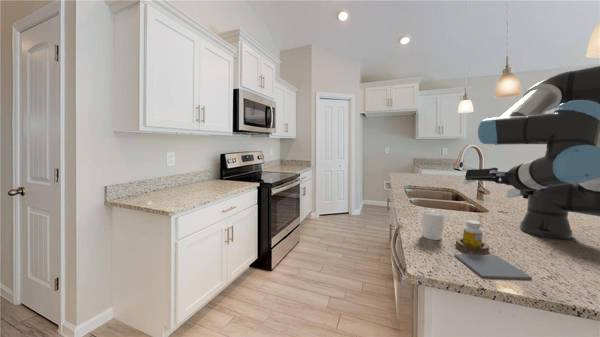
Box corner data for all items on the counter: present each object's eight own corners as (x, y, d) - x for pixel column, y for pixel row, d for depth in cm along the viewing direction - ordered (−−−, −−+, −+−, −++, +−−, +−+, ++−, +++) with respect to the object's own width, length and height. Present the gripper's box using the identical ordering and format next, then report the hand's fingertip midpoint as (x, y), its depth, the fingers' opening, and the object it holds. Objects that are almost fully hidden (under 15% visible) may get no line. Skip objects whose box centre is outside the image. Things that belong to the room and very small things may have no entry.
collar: (476, 243, 89) (476, 237, 88) (495, 254, 79) (495, 248, 79) (450, 242, 89) (450, 237, 89) (466, 253, 80) (466, 248, 80)
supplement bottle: (458, 245, 87) (460, 219, 86) (472, 244, 87) (474, 219, 86) (470, 251, 81) (472, 224, 80) (485, 251, 82) (487, 224, 81)
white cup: (446, 241, 90) (448, 216, 89) (424, 240, 92) (425, 214, 91) (438, 234, 98) (440, 210, 97) (418, 232, 99) (419, 209, 98)
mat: (495, 257, 78) (495, 255, 77) (531, 279, 65) (531, 277, 65) (454, 256, 78) (454, 254, 78) (482, 277, 65) (482, 275, 65)
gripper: (477, 173, 65) (445, 184, 85) (587, 206, 59) (524, 210, 79) (484, 148, 66) (451, 165, 86) (592, 178, 60) (529, 189, 80)
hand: (486, 187), depth 83 cm, fingers open, 13 cm apart
